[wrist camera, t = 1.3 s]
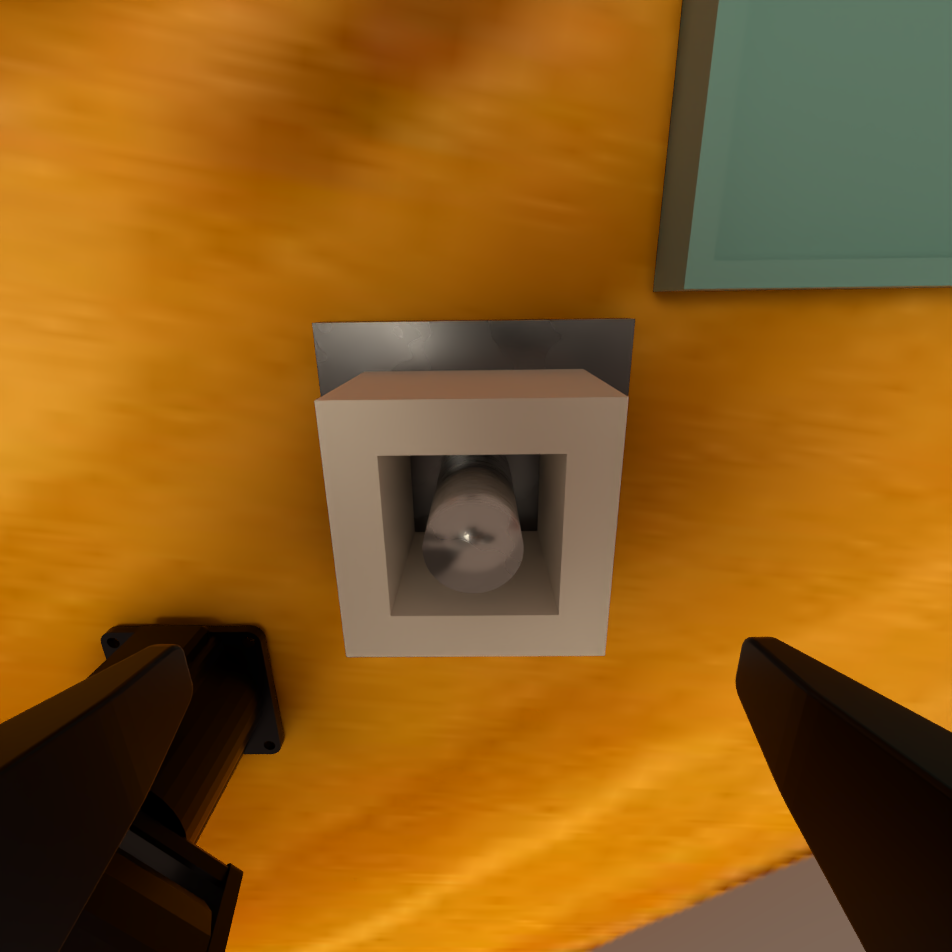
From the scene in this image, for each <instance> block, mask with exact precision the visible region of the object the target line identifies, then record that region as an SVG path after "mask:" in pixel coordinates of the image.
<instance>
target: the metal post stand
mask: <svg viewBox="0 0 952 952" xmlns="http://www.w3.org/2000/svg"><path fill="white" fill-rule="evenodd" d="M312 326H313V335H314V343H315V351H316V360H317V368H318V376H319V385H320V393H321V397H322V396H323V395H325V394H327V393H328V392H330V391H332V390H334V389H335V388H337V387H339V386H341V385H342V384H344V383H346V382H347V381H349V380H351V379H353V378H354V377H356V376H358V375H359V374H361V373H363V372H368V371H451V370H535V369H584V370H586V371H588V372H589V373H591V374H592V375H594V376H596V377H597V378H599V379H600V380H602V381H604V382H605V383H607V384H608V385H610V386H612V387H613V388H615V389H616V390H618V391H620V392H621V393H623V394H625V395H626V396H628V392H629V381H630V370H631V359H632V348H633V337H634V326H635V319H631V318H591V319H515V320H439V321H363V322H318V323H312ZM410 461H411V478H412V494H413V511H414V527H415V532H425V534H424V538H423V545H422V551H423V557H424V561H425V563H426V566H427V568H428V569H429V571H430V573H431V574H432V575H433V576H434V577H435V578H436V579H437V580H438V581H439V582H440V583H442V584H443V585H445V586H446V587H448V588H450V589H453V590H455V591H459V592H463V593H483V592H488V591H491V590H494V589H496V588H498V587H500V586H502V585H504V584H505V583H506V582H508V581H509V580H510V579H511V578H512V577H513V576H514V574H515V573H516V572H517V570H518V568H519V566H520V564H521V562H522V558H523V551H524V546H523V539H522V533H521V531H537V527H538V496H539V465H540V454H499V455H410Z"/></svg>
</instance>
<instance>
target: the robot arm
mask: <svg viewBox="0 0 952 952" xmlns="http://www.w3.org/2000/svg"><path fill="white" fill-rule="evenodd" d="M247 637H250V638H252V639H253V640H254V641H251V640H249V639H248V638H247ZM116 639H117V640H116ZM101 644H102V647H103V650H104V653H105V656H106V661H105V662H104V663H102V664H101V665H100V666H99V667H98V668H97V669H96V670H95V671H94V672H93V673H92V674H91V675H90V676H89V677H88V678H87V679H86V680H84V681H82V682H80V683H78V684H76V685H74V686H72V687H70V688H68V689H66V690H64V691H63V692H61V693H59V694H57V695H55V696H53V697H51V698H49V699H47V700H45V701H43V702H41V703H40V704H38V705H36V706H34V707H32V708H30V709H28V710H26V711H24V712H22V713H20V714H19V715H17V716H15V717H13V718H11V719H9V720H7V721H5V722H3V723H1V724H0V952H225V949H226V945H227V940H228V936H229V932H230V928H231V923H232V919H233V915H234V910H235V906H236V902H237V898H238V893H239V889H240V885H241V880H242V876H243V871H241V870H240V869H238V868H237V867H235V866H234V865H232V864H231V863H229V864H227V865H226V864H224V863H223V862H221V861H220V860H218V859H217V858H215V857H214V856H212V855H211V854H209V853H208V852H206V851H204V850H203V849H201V848H200V847H198V846H197V845H196V843H197V841H198V839H199V837H200V835H201V833H202V832H203V830H204V828H205V826H206V824H207V822H208V820H209V818H210V816H211V815H212V813H213V811H214V809H215V807H216V805H217V803H218V801H219V799H220V797H221V796H222V794H223V792H224V790H225V788H226V786H227V784H228V782H229V780H230V778H231V777H232V775H233V773H234V771H235V769H236V767H237V765H238V763H239V761H240V759H241V758H242V756H243V754H275V753H277V752H279V750H280V749H281V747H282V744H283V742H284V734H283V729H282V723H281V718H280V713H279V708H278V702H277V697H276V692H275V686H274V681H273V676H272V671H271V665H270V660H269V655H268V649H267V644H266V639H265V635H264V632H263V631H262V630H261V629H260V628H258V627H256V626H201V625H167V626H117V627H112V628H111V629H109V630H108V631H107V632H106V633H105V634H104V635H103V636H102V638H101ZM736 689H737V693H738V696H739V698H740V701H741V703H742V705H743V708H744V710H745V712H746V715H747V717H748V719H749V722H750V724H751V726H752V729H753V731H754V733H755V736H756V738H757V741H758V743H759V745H760V748H761V750H762V752H763V755H764V757H765V759H766V762H767V764H768V766H769V769H770V771H771V773H772V776H773V778H774V780H775V782H776V784H777V787H778V789H779V791H780V793H781V795H782V797H783V799H784V801H785V803H786V805H787V807H788V809H789V811H790V812H791V814H792V816H793V818H794V820H795V822H796V824H797V825H798V827H799V829H800V831H801V833H802V835H803V836H804V838H805V840H806V842H807V844H808V846H809V848H810V849H811V851H812V853H813V855H814V857H815V859H816V860H817V862H818V864H819V866H820V868H821V870H822V871H823V873H824V875H825V877H826V879H827V880H828V883H829V884H830V886H831V888H832V890H833V892H834V894H835V895H836V897H837V899H838V901H839V903H840V904H841V907H842V908H843V910H844V912H845V914H846V916H847V917H848V920H849V921H850V923H851V925H852V927H853V929H854V931H855V932H856V934H857V936H858V938H859V939H860V942H861V944H862V945H863V947H864V949H865V951H866V952H952V732H950V731H948V730H946V729H944V728H943V727H941V726H939V725H937V724H935V723H933V722H931V721H930V720H928V719H926V718H924V717H922V716H920V715H918V714H916V713H915V712H913V711H911V710H909V709H907V708H905V707H903V706H902V705H900V704H898V703H896V702H894V701H892V700H890V699H888V698H887V697H885V696H883V695H881V694H879V693H877V692H875V691H873V690H872V689H870V688H868V687H866V686H864V685H862V684H860V683H859V682H857V681H855V680H853V679H851V678H849V677H847V676H845V675H844V674H842V673H840V672H838V671H836V670H834V669H832V668H831V667H829V666H827V665H825V664H823V663H821V662H819V661H817V660H816V659H814V658H812V657H810V656H808V655H806V654H804V653H803V652H801V651H799V650H797V649H795V648H793V647H791V646H789V645H788V644H786V643H784V642H782V641H780V640H778V639H776V638H773V637H749V638H747V639H745V640H744V642H743V644H742V648H741V653H740V658H739V664H738V669H737V674H736Z"/></svg>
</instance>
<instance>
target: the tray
mask: <svg viewBox="0 0 952 952" xmlns="http://www.w3.org/2000/svg"><path fill="white" fill-rule="evenodd" d="M951 287H952V0H683V3H682V13H681V23H680V32H679V42H678V52H677V62H676V72H675V82H674V91H673V101H672V111H671V121H670V131H669V141H668V150H667V160H666V170H665V180H664V190H663V200H662V209H661V219H660V229H659V239H658V249H657V259H656V268H655V278H654V288H653V292H661V291H733V290H806V289H878V288H951Z"/></svg>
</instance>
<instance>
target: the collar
mask: <svg viewBox="0 0 952 952" xmlns="http://www.w3.org/2000/svg"><path fill="white" fill-rule="evenodd" d="M628 399H629V397H628V396H626V395H625V394H623V393H621V392H620V391H618V390H616V389H615V388H613V387H612V386H610V385H608V384H607V383H605V382H604V381H602V380H600V379H599V378H597V377H596V376H594V375H592V374H591V373H589V372H588V371H586V370H584V369H535V370H451V371H368V372H363V373H361V374H359V375H358V376H356V377H354V378H353V379H351V380H349V381H347V382H346V383H344V384H342V385H341V386H339V387H337V388H335V389H334V390H332V391H330V392H328V393H327V394H325V395H323V396H322V397H320V398H318V399H316V400H315V409H316V418H317V426H318V434H319V442H320V450H321V458H322V466H323V474H324V482H325V490H326V498H327V506H328V514H329V522H330V530H331V538H332V546H333V554H334V562H335V570H336V578H337V587H338V595H339V603H340V611H341V619H342V627H343V635H344V643H345V651H346V657H453V656H605V648H606V638H607V627H608V616H609V605H610V594H611V583H612V573H613V562H614V551H615V540H616V529H617V518H618V508H619V497H620V486H621V475H622V464H623V453H624V443H625V432H626V421H627V410H628ZM499 454H540V465H539V496H538V527H537V531H521V533H522V539H523V546H524V551H523V558H522V562H521V564H520V566H519V568H518V570H517V572H516V573H515V574H514V576H513V577H512V578H511V579H510V580H509V581H508V582H506V583H505V584H504V585H502V586H500V587H498V588H496V589H494V590H491V591H488V592H483V593H463V592H459V591H455V590H453V589H450V588H448V587H446V586H445V585H443V584H442V583H440V582H439V581H438V580H437V579H436V578H435V577H434V576H433V575H432V574H431V573H430V571H429V569H428V568H427V566H426V563H425V561H424V557H423V551H422V545H423V538H424V534H425V532H415V527H414V511H413V494H412V478H411V461H410V455H499Z"/></svg>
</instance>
